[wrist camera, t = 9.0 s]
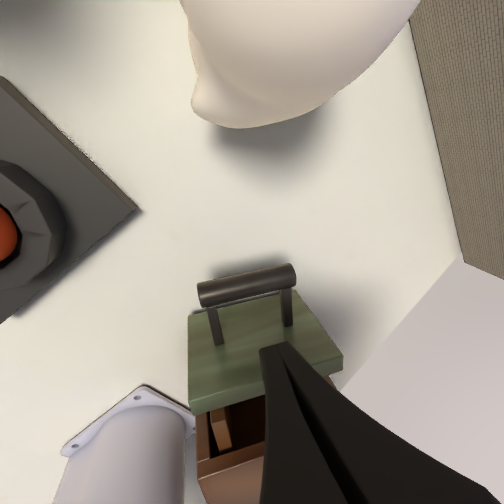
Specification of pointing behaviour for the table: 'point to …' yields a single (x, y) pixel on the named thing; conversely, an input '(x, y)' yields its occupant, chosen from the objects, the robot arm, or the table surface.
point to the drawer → (248, 349)
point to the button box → (47, 200)
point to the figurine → (283, 53)
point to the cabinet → (228, 467)
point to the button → (7, 235)
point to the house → (468, 116)
